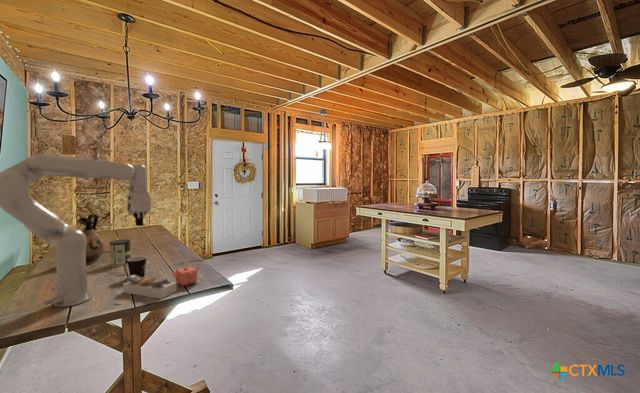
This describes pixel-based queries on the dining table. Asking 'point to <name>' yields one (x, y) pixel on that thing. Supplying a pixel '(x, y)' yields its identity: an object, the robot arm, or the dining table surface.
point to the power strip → (150, 289)
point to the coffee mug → (137, 266)
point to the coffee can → (120, 252)
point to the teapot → (186, 275)
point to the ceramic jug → (92, 239)
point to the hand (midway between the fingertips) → (139, 225)
